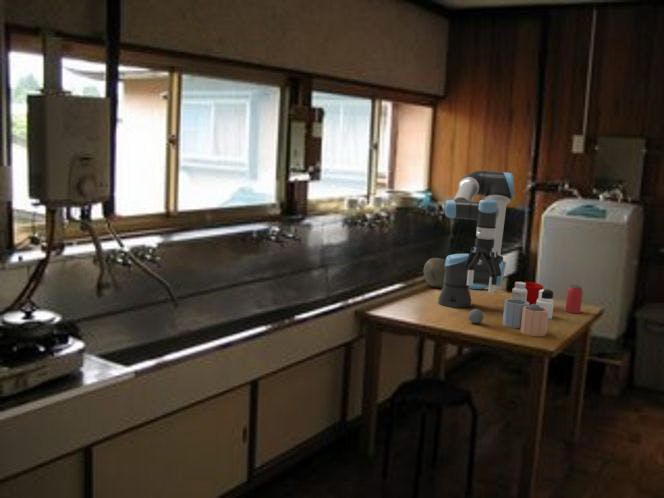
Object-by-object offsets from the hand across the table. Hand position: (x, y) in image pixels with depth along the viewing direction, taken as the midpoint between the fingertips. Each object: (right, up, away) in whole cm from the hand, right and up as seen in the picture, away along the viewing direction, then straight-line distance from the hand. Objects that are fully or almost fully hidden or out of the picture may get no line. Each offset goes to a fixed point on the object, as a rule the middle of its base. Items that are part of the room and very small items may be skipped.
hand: (480, 288), depth 304 cm
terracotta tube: (+20, -17, -8) cm, 27 cm away
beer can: (+49, -13, +34) cm, 61 cm away
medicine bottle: (+32, -14, +22) cm, 41 cm away
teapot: (+12, -4, +76) cm, 77 cm away
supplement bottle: (+23, -12, +30) cm, 40 cm away
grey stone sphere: (-8, -3, +71) cm, 72 cm away
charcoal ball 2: (+20, -11, -9) cm, 25 cm away
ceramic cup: (+30, -10, +44) cm, 54 cm away
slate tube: (+15, -15, +3) cm, 22 cm away
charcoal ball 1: (-1, -14, +2) cm, 15 cm away
